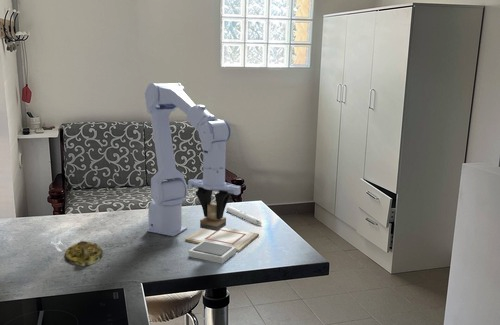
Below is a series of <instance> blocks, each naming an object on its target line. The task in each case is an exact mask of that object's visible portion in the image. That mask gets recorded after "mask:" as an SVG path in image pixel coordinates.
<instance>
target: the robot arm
mask: <svg viewBox="0 0 500 325" xmlns="http://www.w3.org/2000/svg"><path fill="white" fill-rule="evenodd" d="M144 98H145V105H146V112H147V113H148V114H150V121H151V127H152V135H153V141H154V142H153V143H154V149H155V157H156V165H157V169H158V170H157V172H156V173H155V174H154V175H153V176H152V177H151V179H150V197H151V199H152V201H151V202H150V204H149V206H148V207H149V208H148V212H147V213H148V228H147V229H146V231H147V232H150V233H154V234H159V235H165V236H170V237H175V236H177V235H178V234H180V233H182V232H184V231H186V230H187V229H188V227H187V226H184V225H182V222H183V221H182V218H183V217H182V210H183V209H182V203H184V202H185V201H184V200H185V199H186V197H187V196H188V192H189V190H188V188H189V189H192V188H194V189H197V191H195V195H196V197H197V198H198V201H199V203H200V205H201V207H202V208H201V209H202V212H203V215H204V217H207V204H208V203H211V201H212V195H213V191H215V192H218V193H214V198H215V203H216V204H217V219H221V218H222V217H224V213H225V209H226V208H227V204H228V201H229V199H230V198H231V196H232V195H235V196H239V195H240V194H241V189H242V186H241V185H236V184H232V183H229V182H226V152H227V151H226V150H227V149H226V146H227V142H228V141H229V140H230V138H231V135H232V130H231V125H230V124H229V122H228V121H227V120H226V119H224V118H223V119H219V118H216V116H215V115H214V114H212V113H211V112H210V111H209V110H208V109H207V108H206V106H205V105H204V104H195V103H194V101H193V100H192V99H191V97H189V96H188V94H187V93H186V88H185V87H184V86H183V84H182V83H180V82H167V83H166V82H161V83H160V82H158V83H157V82H156V83H154V82H150V83H148V84H147V86H146V89H145V92H144ZM177 109H179V110H180V111H181V112H183V113H184V114H186V121H187V122H188V123H189V124H190V125H191V126H192V127H193V128H194V129H195V130H196V131H197V132H198V137H199V139H200V142H201V144H200V146H201V149H202V150H203V151H202V152H203V153H202V154H203V155H202V157H203V158H202V160H203V161H202V163H203V164H202V179H196V178H195V179H193V178H191V179H189V180H188V181H187V183H186V179H185V174H183V172H181V171H180V170H178V169H177V168H176V166H177V165H176V159H175V153H174V147H173V146H174V145H173V139H172V133H171V132H172V130H171V125H170V124H171V123H170V115H171V114H172V113H173V112H175V111H176V110H177ZM204 217H203V218H204Z"/></svg>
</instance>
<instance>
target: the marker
mask: <svg viewBox="0 0 500 325" xmlns="http://www.w3.org/2000/svg"><path fill="white" fill-rule="evenodd" d="M225 209H226V211H228V213H229V212H230V213H229V214H231V213H232V215H234V216H236V217H238V218H241V219H242V218H243V219H242V220H244V219H245V220H244V221H246V222H249V223H252V224H253V225H256V226H261V225H262V221H261V219H260V218H258V217H255V216H253V215H251V214H248V213H247V212H245V211H243V210H239V209H237V208H235V207H233V206H231V205H229V206H226V208H225Z"/></svg>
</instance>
